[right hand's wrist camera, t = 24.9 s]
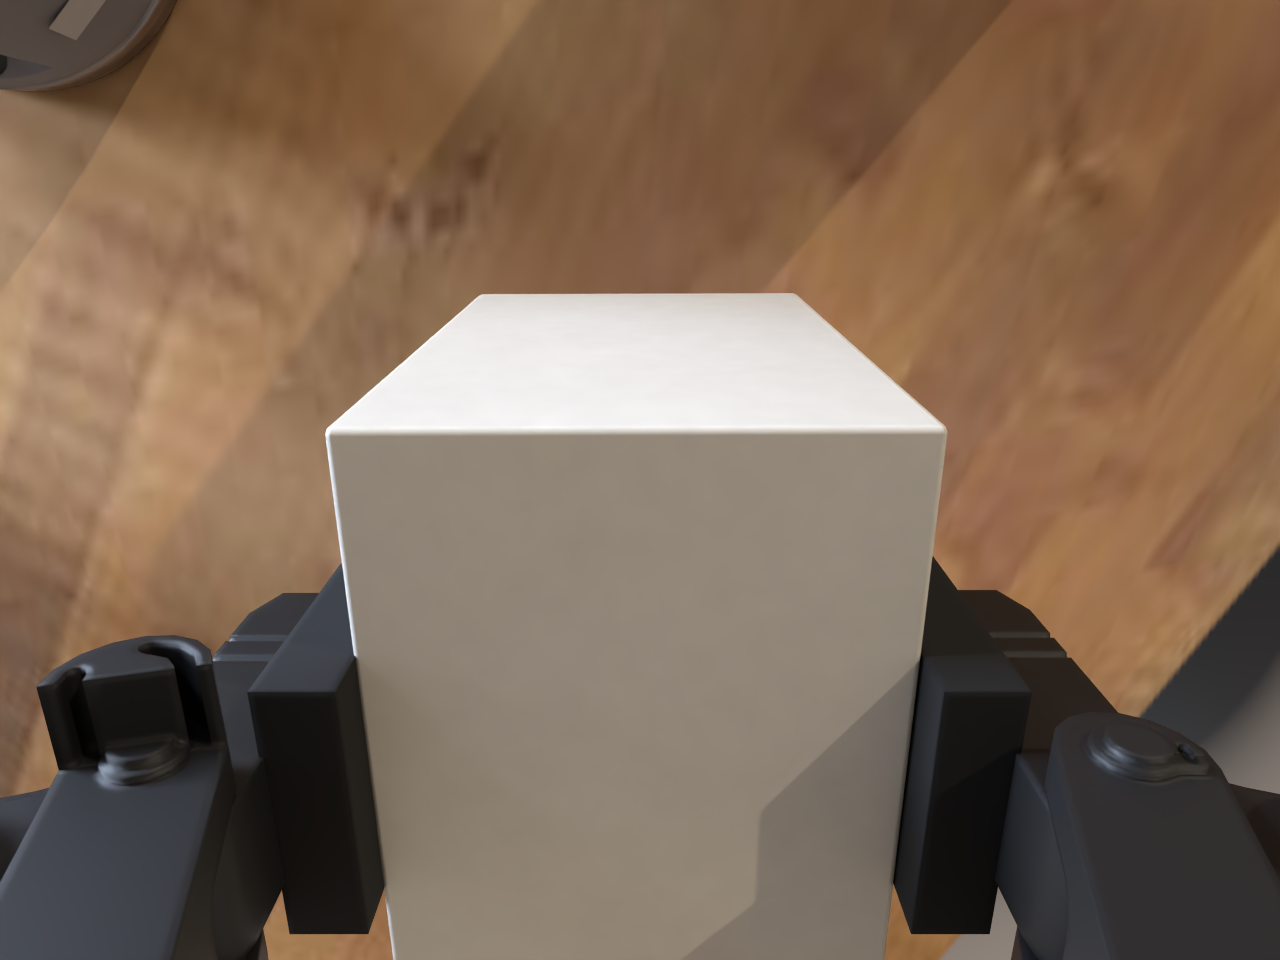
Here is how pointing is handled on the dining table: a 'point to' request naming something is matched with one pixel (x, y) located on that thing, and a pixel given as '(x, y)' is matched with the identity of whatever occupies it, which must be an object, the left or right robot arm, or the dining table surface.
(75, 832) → the right robot arm
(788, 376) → the brick
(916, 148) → the dining table surface
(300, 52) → the dining table surface
